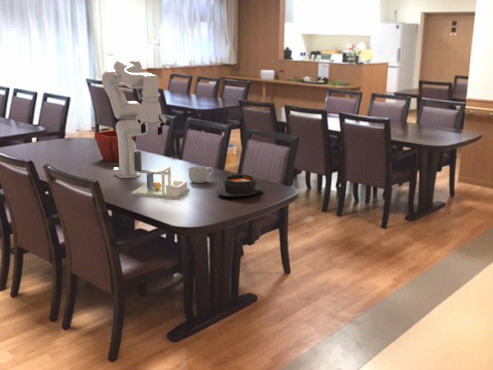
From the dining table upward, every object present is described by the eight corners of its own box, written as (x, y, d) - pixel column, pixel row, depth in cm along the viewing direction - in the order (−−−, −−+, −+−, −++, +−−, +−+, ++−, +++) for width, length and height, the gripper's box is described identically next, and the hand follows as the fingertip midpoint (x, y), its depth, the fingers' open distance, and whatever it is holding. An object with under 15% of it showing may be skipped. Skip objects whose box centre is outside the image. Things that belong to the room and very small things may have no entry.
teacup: (190, 185, 302) (190, 170, 300) (186, 180, 312) (186, 165, 310) (215, 183, 305) (215, 169, 303) (211, 178, 315) (211, 164, 313)
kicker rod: (134, 187, 288) (133, 152, 284) (138, 185, 293) (137, 150, 288) (168, 190, 284) (167, 155, 279) (172, 188, 289) (171, 153, 284)
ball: (152, 190, 287) (151, 182, 286) (155, 188, 291) (155, 180, 290) (159, 190, 286) (159, 183, 285) (162, 188, 290) (162, 181, 289)
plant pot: (95, 159, 357) (93, 132, 353) (121, 154, 370) (120, 129, 366) (111, 164, 344) (110, 137, 340) (138, 159, 357) (137, 133, 353)
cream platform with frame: (131, 194, 283) (130, 170, 279) (146, 185, 299) (145, 162, 296) (176, 199, 277) (176, 174, 274) (189, 189, 294) (189, 165, 290)
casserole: (246, 186, 302) (247, 170, 300) (270, 194, 288) (270, 178, 286) (208, 194, 287) (208, 177, 284) (231, 202, 273) (231, 186, 271)
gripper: (131, 99, 282) (133, 133, 287) (161, 101, 276) (162, 136, 280) (140, 97, 289) (141, 131, 293) (169, 100, 282) (170, 134, 287)
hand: (151, 133), depth 287 cm, fingers open, 9 cm apart
